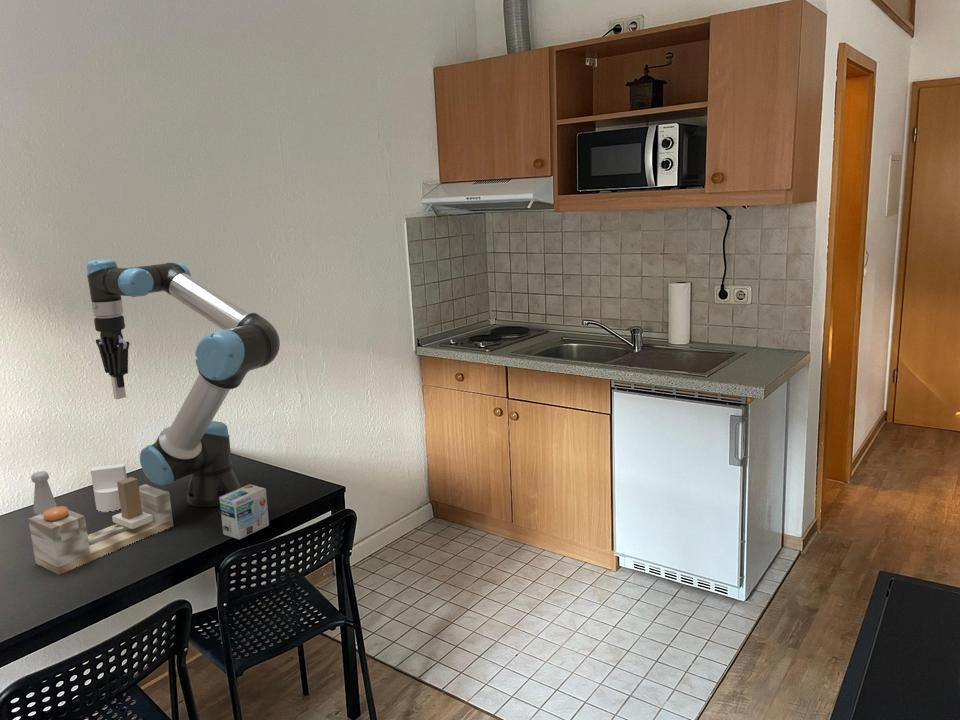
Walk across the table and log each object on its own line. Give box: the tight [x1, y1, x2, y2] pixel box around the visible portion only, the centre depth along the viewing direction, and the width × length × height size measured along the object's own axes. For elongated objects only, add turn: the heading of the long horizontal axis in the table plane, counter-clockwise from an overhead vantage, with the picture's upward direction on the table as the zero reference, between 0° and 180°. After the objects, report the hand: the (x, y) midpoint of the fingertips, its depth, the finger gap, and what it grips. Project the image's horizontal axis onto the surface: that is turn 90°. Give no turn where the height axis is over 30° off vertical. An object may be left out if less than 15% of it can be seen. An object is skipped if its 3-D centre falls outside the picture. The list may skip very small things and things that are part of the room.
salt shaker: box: [30, 470, 58, 516], centre depth 214 cm, size 6×6×13 cm
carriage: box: [111, 476, 153, 529], centre depth 200 cm, size 6×9×12 cm, turn 56°
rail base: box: [27, 483, 174, 576], centre depth 195 cm, size 31×11×12 cm, turn 146°
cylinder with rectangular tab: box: [90, 463, 128, 513], centre depth 220 cm, size 9×9×12 cm
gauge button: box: [43, 505, 69, 522], centre depth 185 cm, size 5×5×5 cm
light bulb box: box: [219, 483, 270, 540], centre depth 201 cm, size 11×7×11 cm, turn 148°
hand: (120, 397), depth 214 cm, fingers closed
